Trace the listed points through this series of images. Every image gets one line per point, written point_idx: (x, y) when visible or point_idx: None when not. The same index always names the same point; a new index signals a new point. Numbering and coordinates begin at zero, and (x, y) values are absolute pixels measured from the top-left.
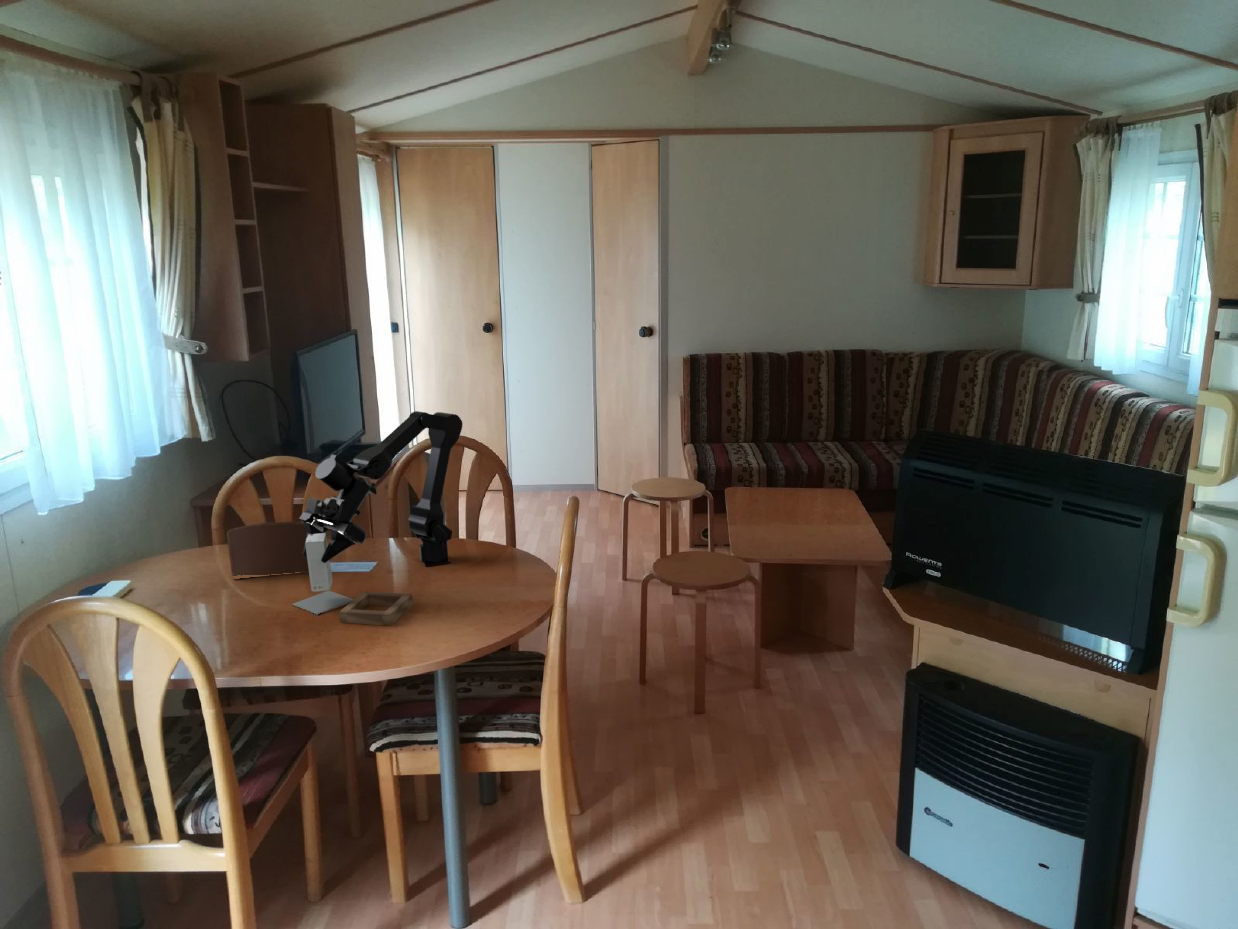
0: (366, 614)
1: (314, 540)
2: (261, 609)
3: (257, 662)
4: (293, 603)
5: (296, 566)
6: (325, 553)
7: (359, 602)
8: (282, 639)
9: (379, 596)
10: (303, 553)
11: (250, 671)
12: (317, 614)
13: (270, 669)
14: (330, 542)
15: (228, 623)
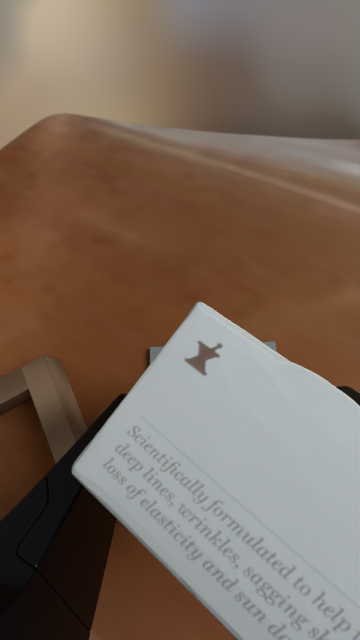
0: None
1: (169, 400)
2: (314, 278)
3: (52, 159)
4: (275, 346)
5: None
6: (95, 429)
7: (52, 447)
8: (100, 229)
9: None
10: (342, 389)
11: (33, 139)
12: (150, 349)
13: (7, 162)
14: (37, 531)
15: (286, 193)
